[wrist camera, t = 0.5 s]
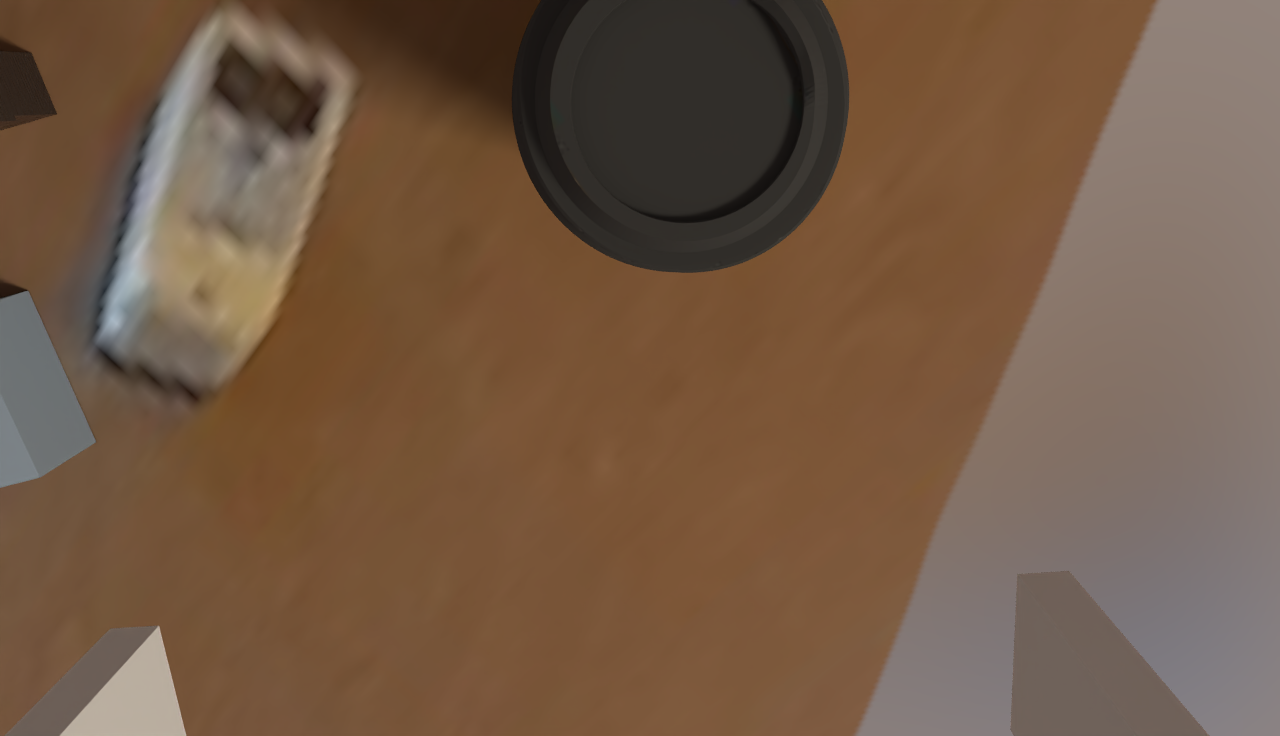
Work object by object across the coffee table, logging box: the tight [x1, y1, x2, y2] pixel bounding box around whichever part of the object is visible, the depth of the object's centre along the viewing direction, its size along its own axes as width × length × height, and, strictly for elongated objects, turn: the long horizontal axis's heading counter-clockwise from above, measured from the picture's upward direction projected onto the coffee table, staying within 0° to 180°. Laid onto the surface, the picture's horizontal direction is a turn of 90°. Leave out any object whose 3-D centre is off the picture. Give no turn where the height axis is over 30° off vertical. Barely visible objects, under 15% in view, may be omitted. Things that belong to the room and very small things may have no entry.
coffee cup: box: [512, 0, 849, 273], centre depth 30 cm, size 9×9×15 cm
